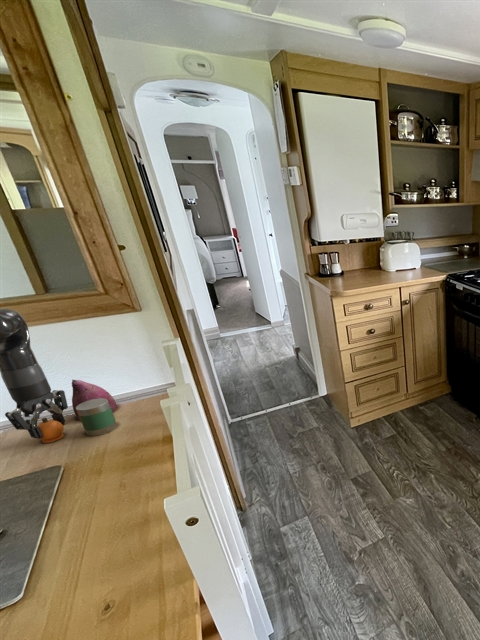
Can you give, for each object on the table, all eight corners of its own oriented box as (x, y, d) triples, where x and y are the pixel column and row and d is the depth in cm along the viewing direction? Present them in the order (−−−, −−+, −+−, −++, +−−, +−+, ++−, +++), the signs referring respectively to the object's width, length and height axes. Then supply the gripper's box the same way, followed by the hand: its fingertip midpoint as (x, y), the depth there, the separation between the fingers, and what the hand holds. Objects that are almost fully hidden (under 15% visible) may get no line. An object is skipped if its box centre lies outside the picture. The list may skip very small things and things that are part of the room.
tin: (79, 435, 113) (68, 410, 110) (100, 422, 120) (90, 397, 116) (103, 436, 113) (92, 410, 110) (123, 423, 120) (114, 398, 116)
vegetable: (93, 430, 121) (64, 397, 112) (72, 419, 124) (43, 387, 115) (127, 408, 129) (103, 376, 120) (107, 399, 132) (82, 366, 122)
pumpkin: (33, 444, 109) (22, 423, 106) (53, 432, 114) (44, 413, 112) (53, 444, 109) (43, 424, 106) (72, 432, 114) (63, 413, 112)
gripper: (39, 369, 111) (61, 418, 117) (-19, 392, 98) (9, 446, 104) (65, 369, 111) (85, 418, 117) (10, 393, 98) (37, 446, 104)
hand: (49, 431), depth 111 cm, fingers closed on pumpkin, 5 cm apart
